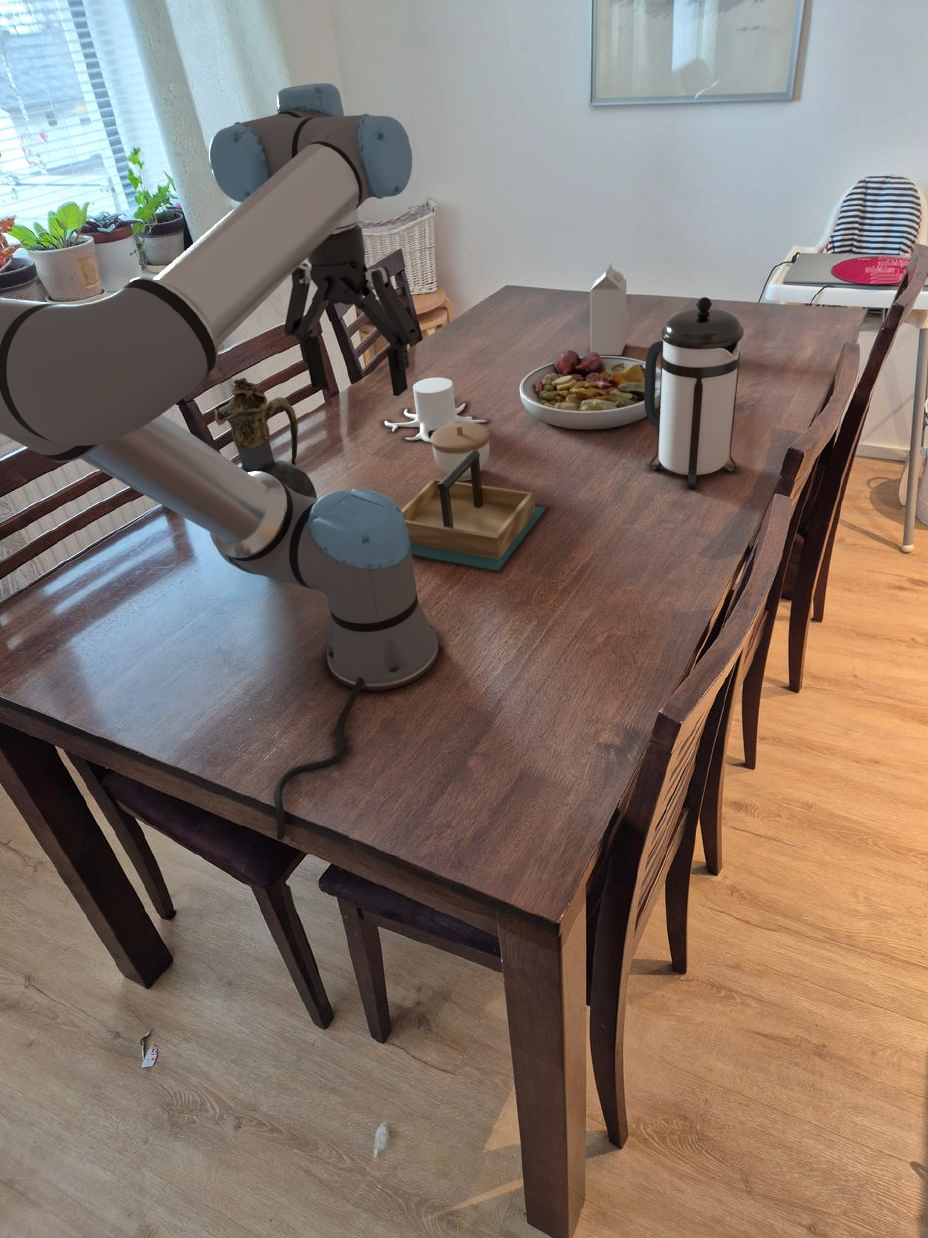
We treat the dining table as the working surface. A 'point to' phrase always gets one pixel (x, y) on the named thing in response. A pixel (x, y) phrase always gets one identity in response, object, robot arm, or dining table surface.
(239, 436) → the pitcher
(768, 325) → the dining table surface
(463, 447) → the white jar with lid
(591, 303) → the milk carton
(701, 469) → the coffee press
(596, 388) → the bowl
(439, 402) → the tree stump
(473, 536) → the tray
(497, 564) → the mat
